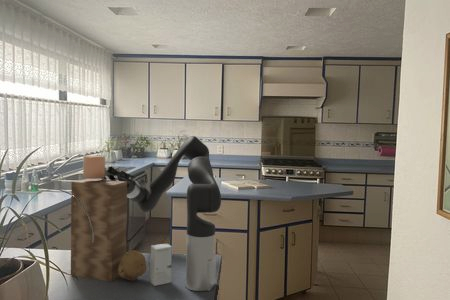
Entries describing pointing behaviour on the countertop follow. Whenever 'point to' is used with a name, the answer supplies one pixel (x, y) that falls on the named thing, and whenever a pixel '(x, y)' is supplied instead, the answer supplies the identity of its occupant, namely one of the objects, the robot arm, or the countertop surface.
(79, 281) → the countertop surface
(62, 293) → the countertop surface
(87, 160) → the peach cylinder
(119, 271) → the natural sponge
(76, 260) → the stand
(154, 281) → the skincare box
